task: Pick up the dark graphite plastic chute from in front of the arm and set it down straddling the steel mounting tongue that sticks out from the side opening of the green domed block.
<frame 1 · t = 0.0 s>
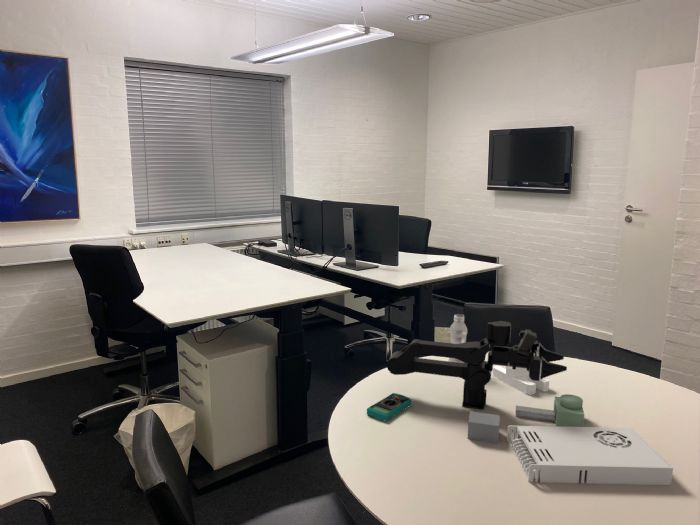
hand: (565, 362, 150), 17 cm above the table, tool horizontal, fingers open, 9 cm apart
chute: (483, 435, 141), on the table
green domed block: (567, 421, 149), on the table
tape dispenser: (519, 383, 177), on the table
digital multimeter: (389, 411, 156), on the table
plastic bottle: (456, 368, 190), on the table
power supply unit: (582, 464, 129), on the table
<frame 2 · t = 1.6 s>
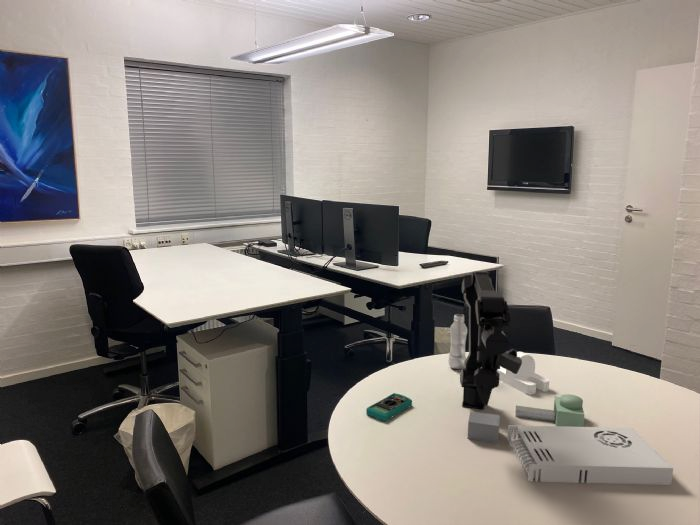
hand: (486, 397, 139), 11 cm above the table, tool pointing down, fingers open, 9 cm apart
nothing on the table moved.
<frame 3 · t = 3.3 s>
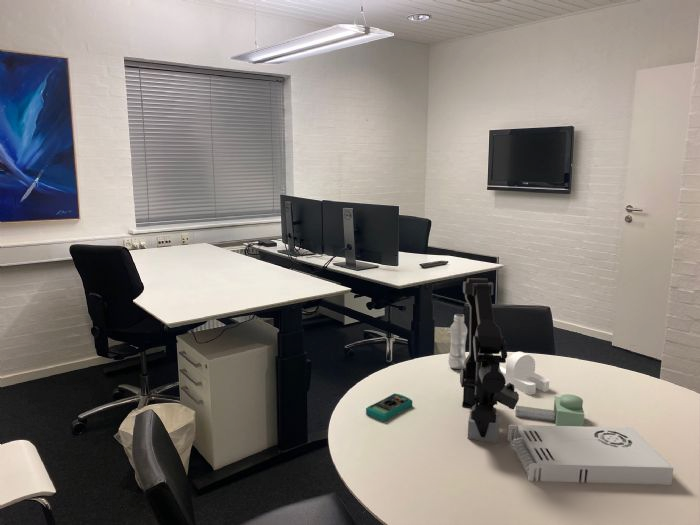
hand: (483, 431, 141), 1 cm above the table, tool pointing down, fingers closed on chute, 6 cm apart
chute: (483, 435, 141), on the table, touching gripper
everything else where it was.
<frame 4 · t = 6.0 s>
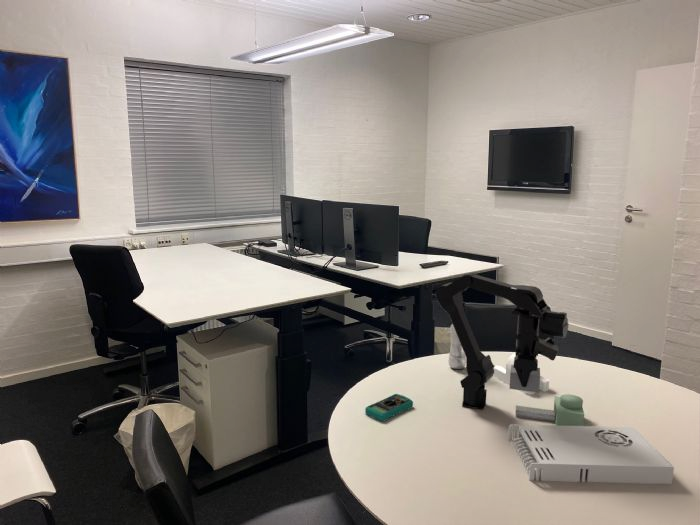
hand: (524, 382, 149), 11 cm above the table, tool pointing down, fingers closed on chute, 6 cm apart
chute: (524, 386, 149), point 10 cm above the table, touching gripper
everything else where it was.
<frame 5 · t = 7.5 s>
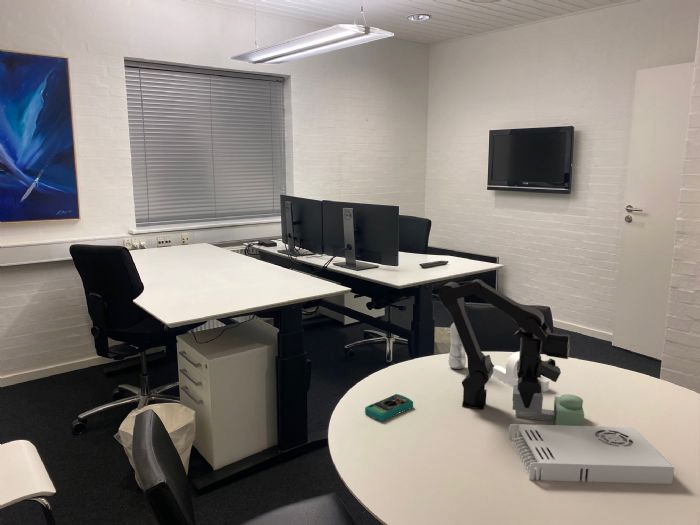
hand: (526, 402, 152), 4 cm above the table, tool pointing down, fingers closed on chute, 6 cm apart
chute: (526, 406, 152), point 3 cm above the table, touching gripper
everything else where it was.
when the fingers open (2 cm above the table, at t = 8.8 s): chute stays where it is, resting in green domed block.
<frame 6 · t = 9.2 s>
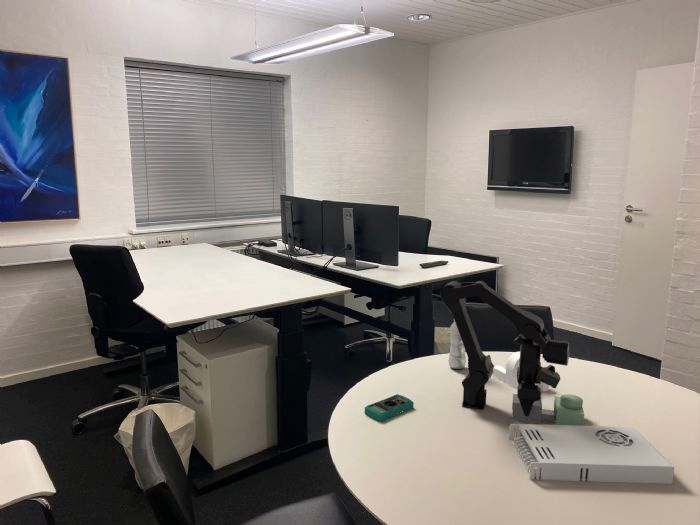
hand: (526, 409, 152), 2 cm above the table, tool pointing down, fingers open, 9 cm apart
chute: (526, 415, 153), resting in green domed block
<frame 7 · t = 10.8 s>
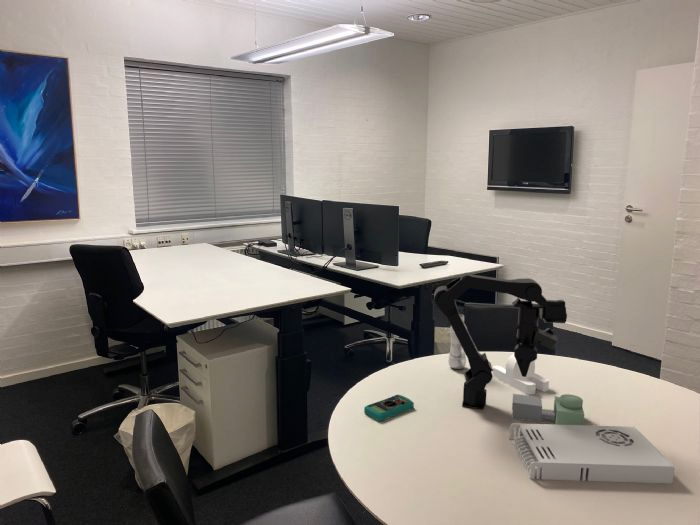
hand: (524, 370, 156), 12 cm above the table, tool pointing down, fingers open, 9 cm apart
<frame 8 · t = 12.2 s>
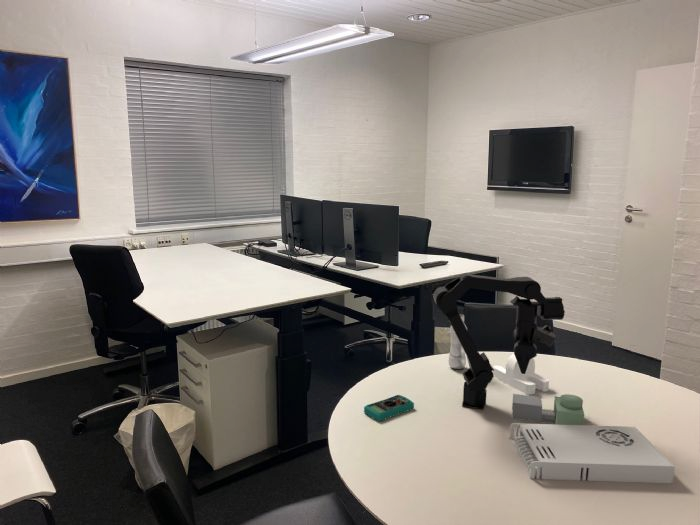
hand: (522, 368, 158), 12 cm above the table, tool pointing down, fingers open, 9 cm apart
at the end: chute 0.0 cm from the target spot, resting in green domed block; chute tilted 0°; the gripper is holding nothing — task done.
